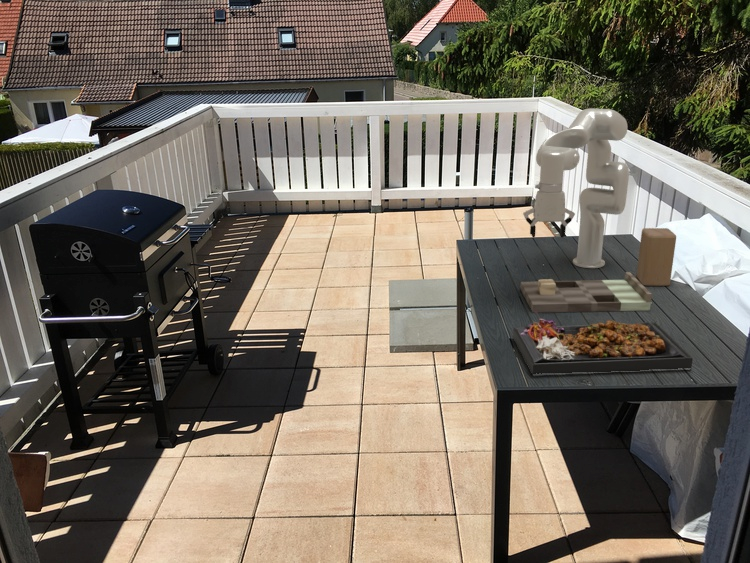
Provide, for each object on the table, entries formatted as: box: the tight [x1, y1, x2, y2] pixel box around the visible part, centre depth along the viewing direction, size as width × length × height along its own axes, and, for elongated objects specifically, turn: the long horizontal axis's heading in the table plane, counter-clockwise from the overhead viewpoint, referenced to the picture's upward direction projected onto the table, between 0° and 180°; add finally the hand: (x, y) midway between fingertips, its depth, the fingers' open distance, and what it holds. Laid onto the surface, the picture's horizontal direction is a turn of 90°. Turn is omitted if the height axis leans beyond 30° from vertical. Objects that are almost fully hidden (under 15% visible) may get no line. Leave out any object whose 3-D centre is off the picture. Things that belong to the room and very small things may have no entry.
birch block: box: [538, 278, 556, 295], centre depth 234 cm, size 5×5×4 cm
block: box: [636, 227, 677, 287], centre depth 246 cm, size 10×10×20 cm
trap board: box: [520, 271, 653, 314], centre depth 235 cm, size 22×40×6 cm, turn 89°
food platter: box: [512, 312, 693, 374], centre depth 195 cm, size 45×25×10 cm, turn 92°
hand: (547, 236), depth 228 cm, fingers open, 9 cm apart
